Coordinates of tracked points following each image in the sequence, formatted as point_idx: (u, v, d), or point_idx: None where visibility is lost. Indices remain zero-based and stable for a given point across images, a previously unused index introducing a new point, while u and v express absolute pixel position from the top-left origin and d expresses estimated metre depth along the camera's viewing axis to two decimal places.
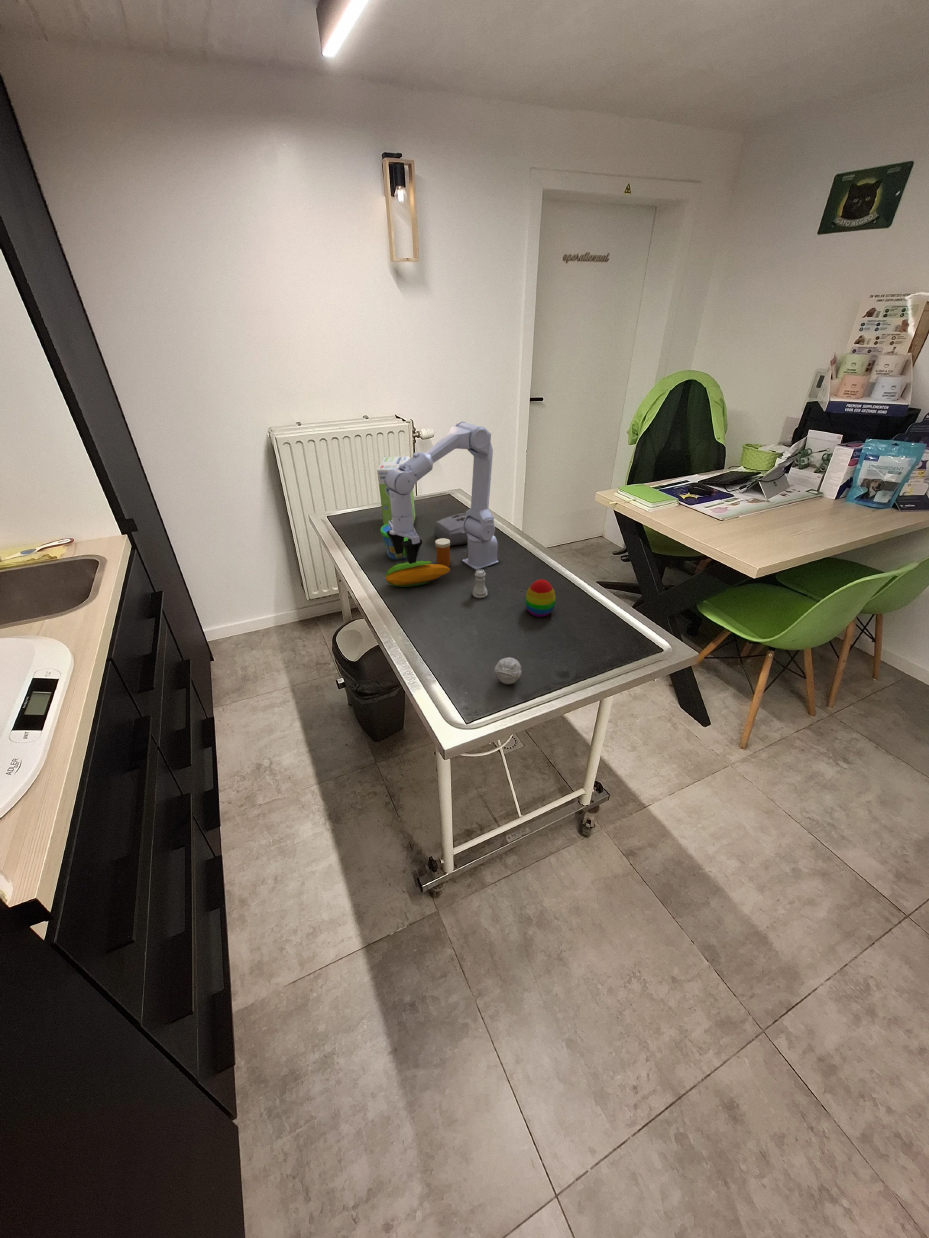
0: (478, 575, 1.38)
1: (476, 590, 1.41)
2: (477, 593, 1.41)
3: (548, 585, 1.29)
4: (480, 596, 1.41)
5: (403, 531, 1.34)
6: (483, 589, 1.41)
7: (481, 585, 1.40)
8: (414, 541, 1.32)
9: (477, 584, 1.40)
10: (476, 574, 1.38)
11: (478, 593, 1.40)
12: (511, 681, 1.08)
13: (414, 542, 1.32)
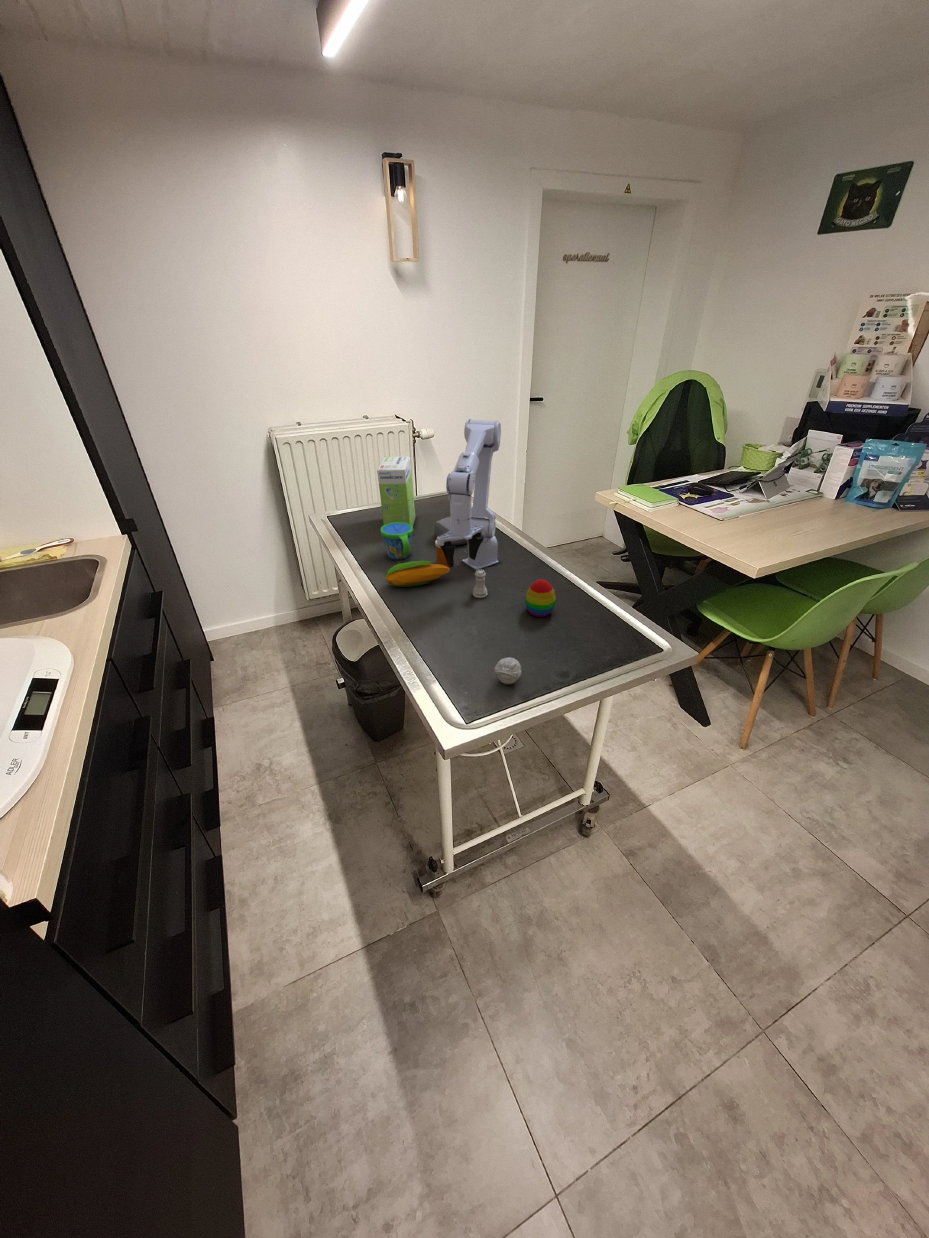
0: (478, 575, 1.38)
1: (476, 590, 1.41)
2: (477, 593, 1.41)
3: (548, 585, 1.29)
4: (480, 596, 1.41)
5: (471, 530, 1.33)
6: (483, 589, 1.41)
7: (481, 585, 1.40)
8: None
9: (477, 584, 1.40)
10: (476, 574, 1.38)
11: (478, 593, 1.40)
12: (511, 681, 1.08)
13: None
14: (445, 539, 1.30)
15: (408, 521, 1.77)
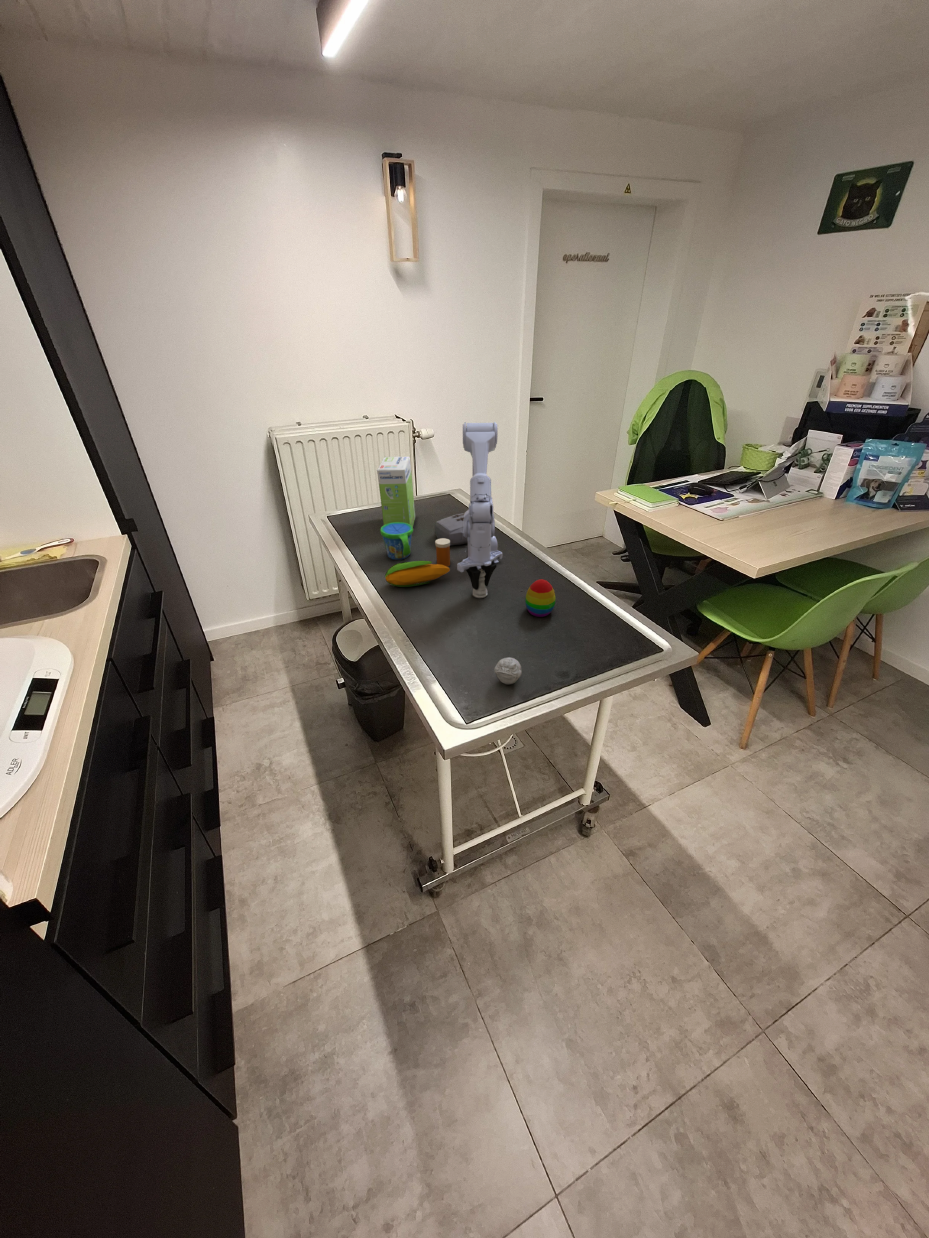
0: None
1: (476, 590, 1.41)
2: (477, 593, 1.41)
3: (548, 585, 1.29)
4: (480, 596, 1.41)
5: None
6: (483, 589, 1.41)
7: (481, 585, 1.40)
8: None
9: None
10: None
11: (478, 593, 1.40)
12: (511, 681, 1.08)
13: None
14: (465, 566, 1.33)
15: (408, 521, 1.77)
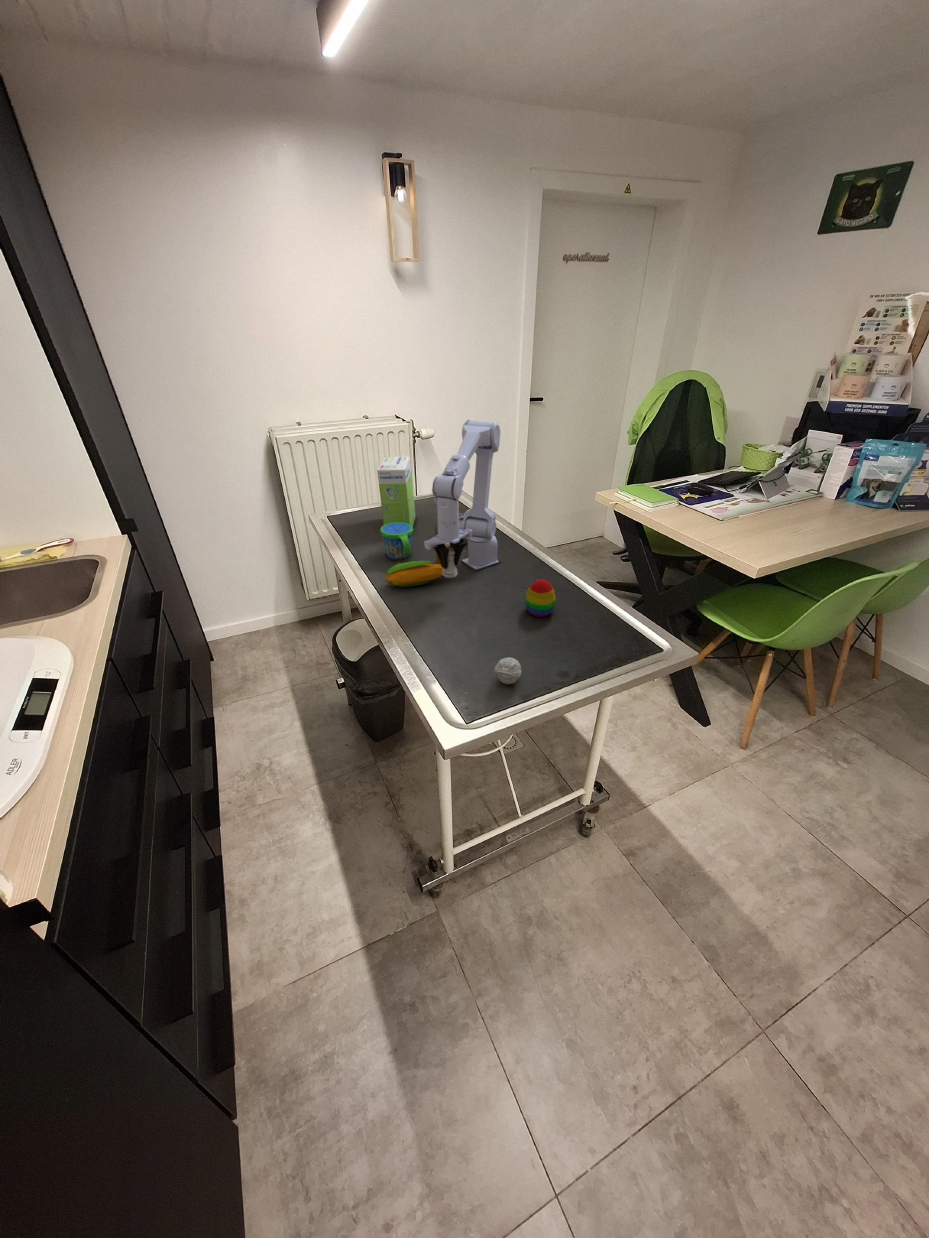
0: None
1: (445, 569, 1.37)
2: (446, 572, 1.37)
3: (548, 585, 1.29)
4: (450, 576, 1.37)
5: (458, 534, 1.33)
6: (453, 568, 1.37)
7: (450, 564, 1.36)
8: None
9: None
10: None
11: (447, 572, 1.37)
12: (511, 681, 1.08)
13: None
14: (432, 543, 1.29)
15: (408, 521, 1.77)
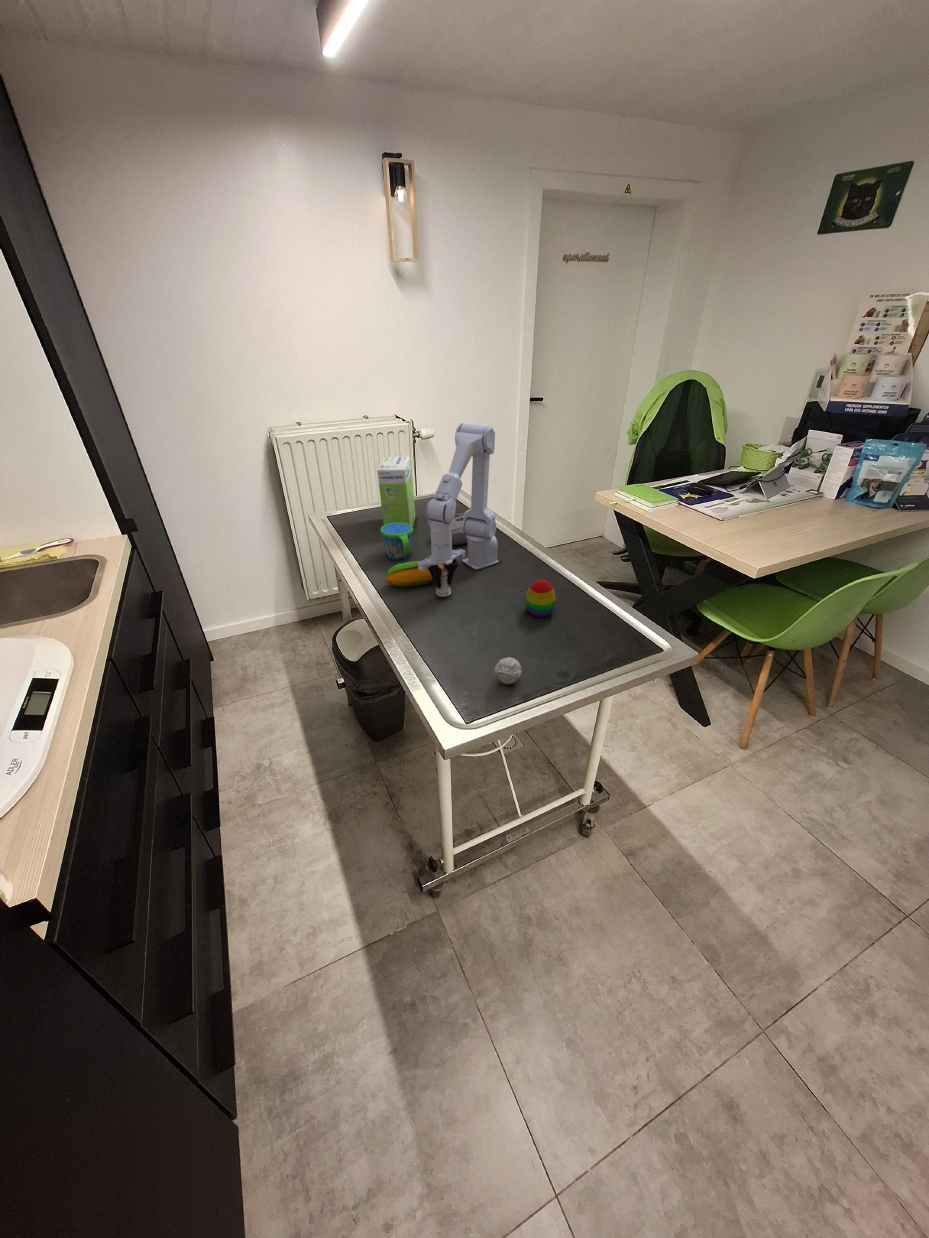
0: None
1: (439, 589, 1.40)
2: (440, 592, 1.40)
3: (548, 585, 1.29)
4: (443, 595, 1.41)
5: (451, 555, 1.36)
6: (446, 588, 1.40)
7: (444, 584, 1.39)
8: None
9: None
10: None
11: (441, 592, 1.40)
12: (511, 681, 1.08)
13: None
14: (426, 564, 1.32)
15: (408, 521, 1.77)
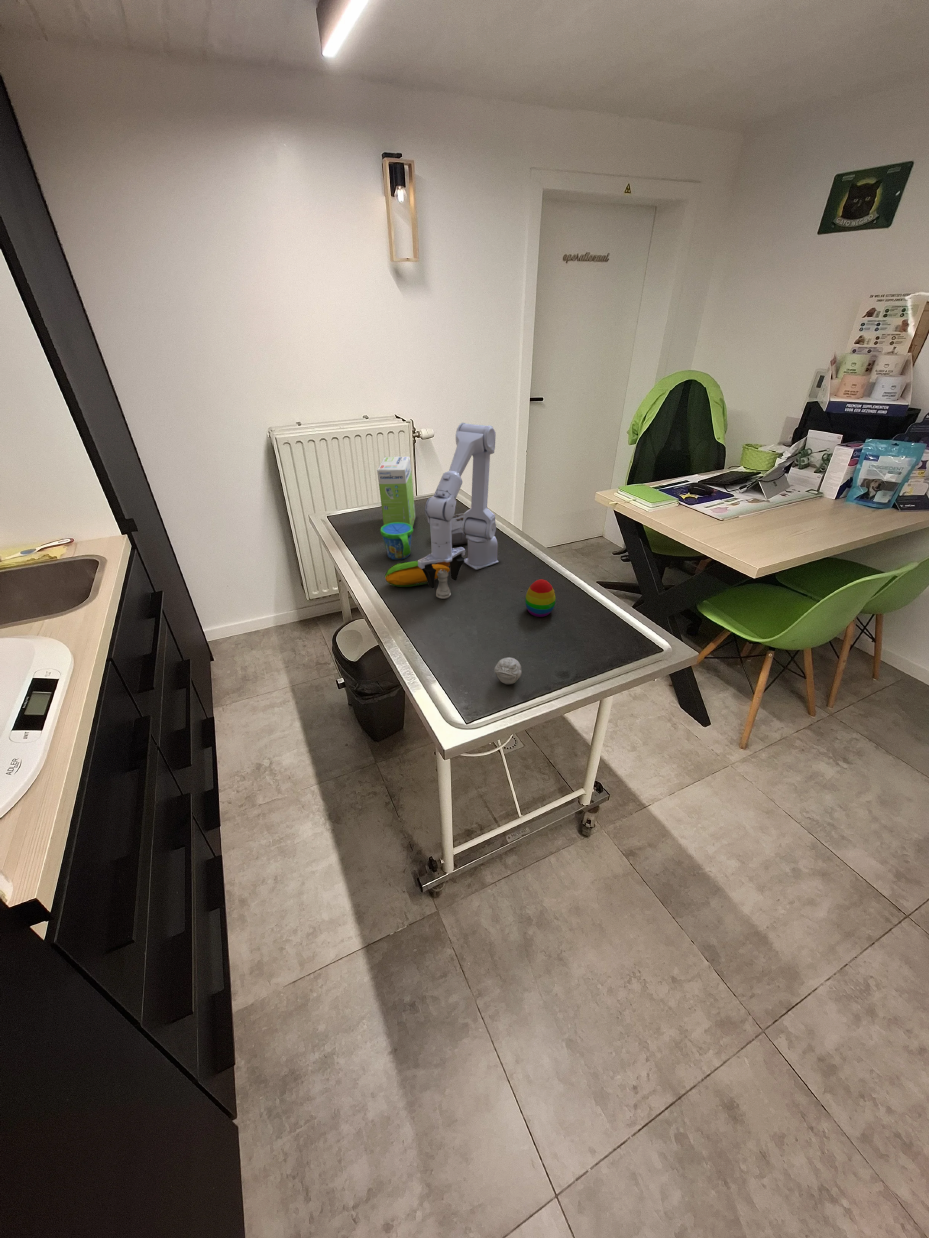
0: (440, 576, 1.38)
1: (439, 591, 1.41)
2: (440, 594, 1.40)
3: (548, 585, 1.29)
4: (443, 597, 1.41)
5: (451, 552, 1.36)
6: (446, 590, 1.40)
7: (444, 586, 1.40)
8: None
9: (439, 584, 1.40)
10: (438, 575, 1.38)
11: (441, 594, 1.40)
12: (511, 681, 1.08)
13: None
14: (426, 562, 1.32)
15: (408, 521, 1.77)
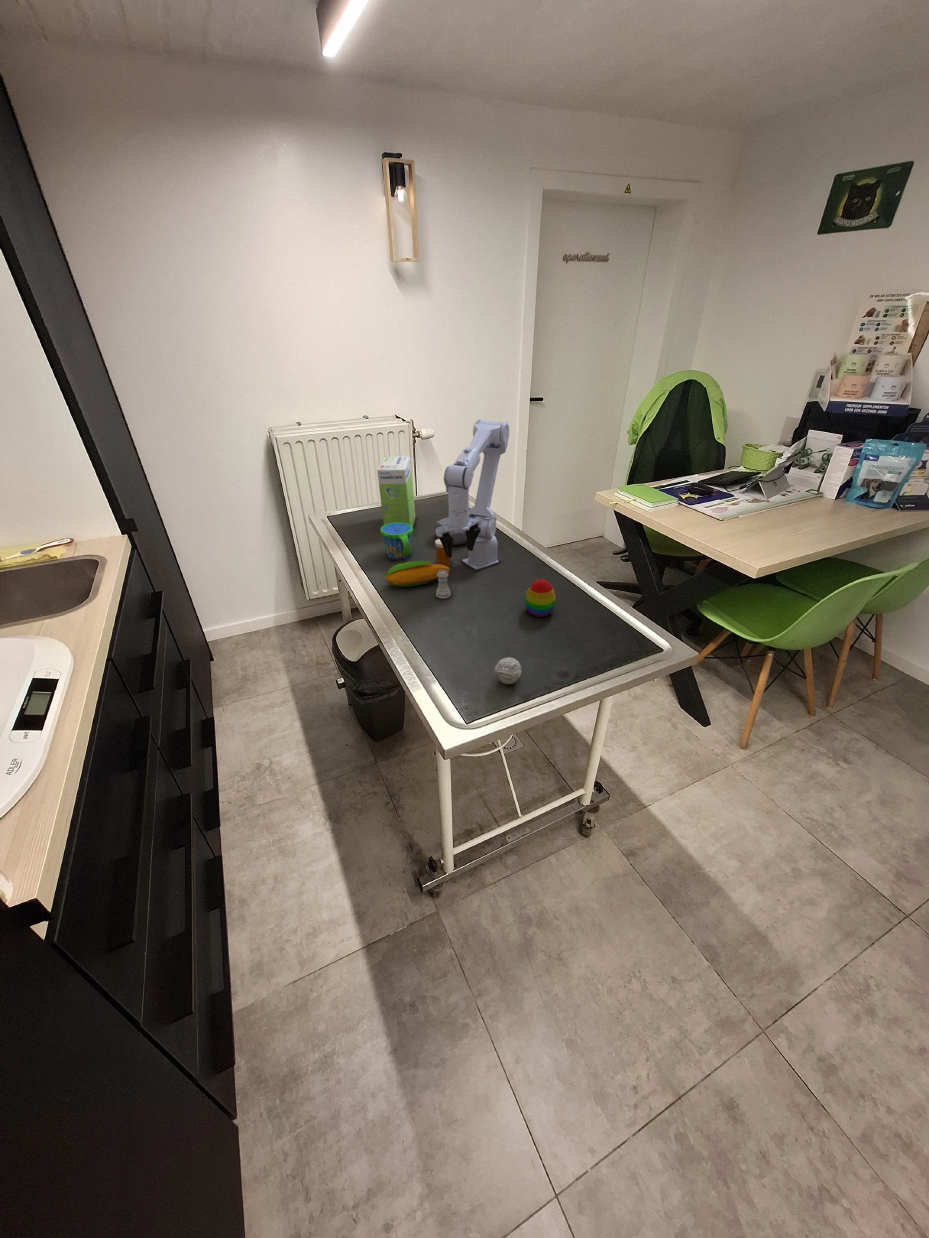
0: (440, 576, 1.38)
1: (439, 591, 1.41)
2: (440, 594, 1.40)
3: (548, 585, 1.29)
4: (443, 597, 1.41)
5: (468, 522, 1.38)
6: (446, 590, 1.40)
7: (444, 586, 1.40)
8: None
9: (439, 584, 1.40)
10: (438, 575, 1.38)
11: (441, 594, 1.40)
12: (511, 681, 1.08)
13: None
14: (443, 530, 1.34)
15: (408, 521, 1.77)
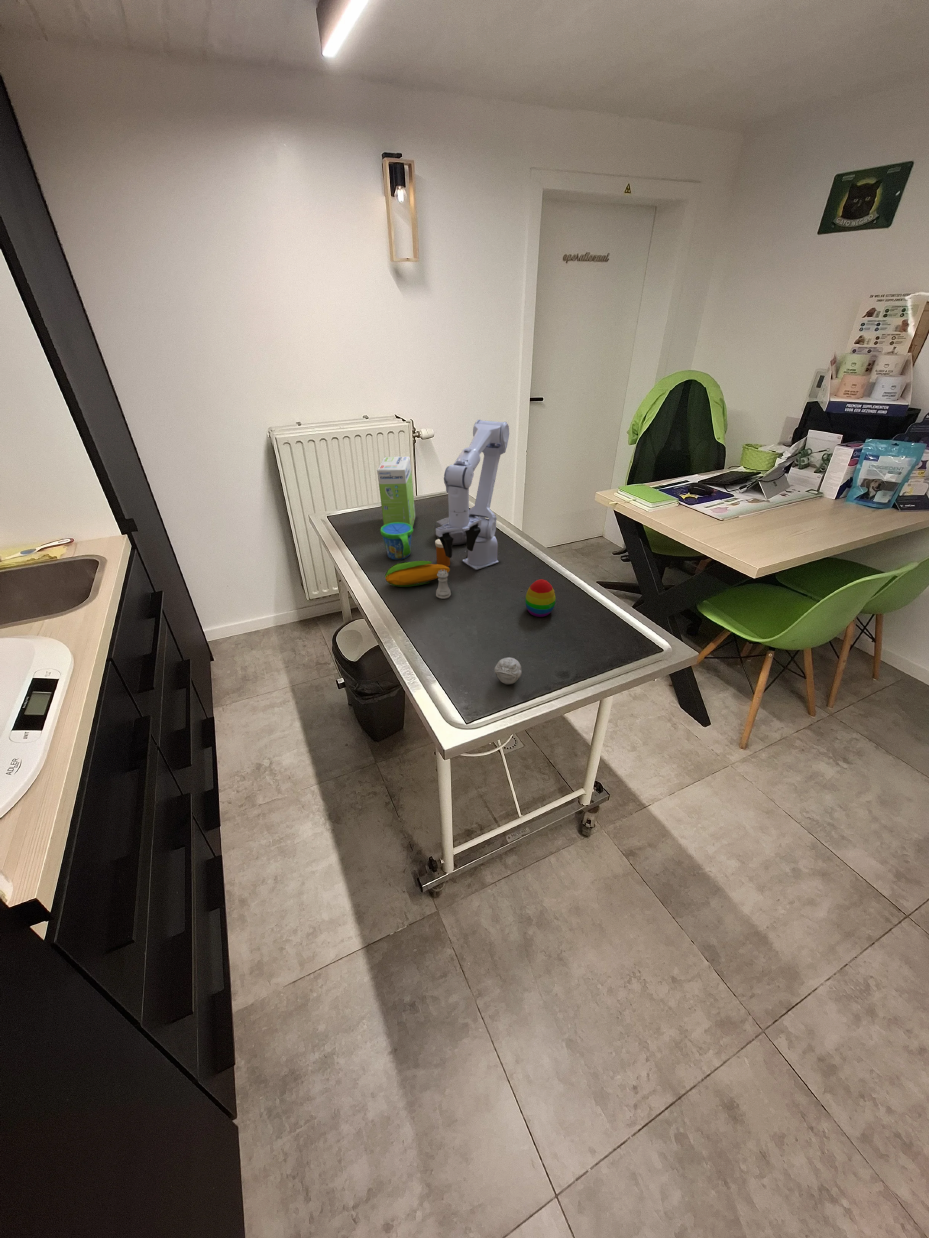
0: (440, 576, 1.38)
1: (439, 591, 1.41)
2: (440, 594, 1.40)
3: (548, 585, 1.29)
4: (443, 597, 1.41)
5: (468, 522, 1.38)
6: (446, 590, 1.40)
7: (444, 586, 1.40)
8: None
9: (439, 584, 1.40)
10: (438, 575, 1.38)
11: (441, 594, 1.40)
12: (511, 681, 1.08)
13: None
14: (444, 530, 1.34)
15: (408, 521, 1.77)
